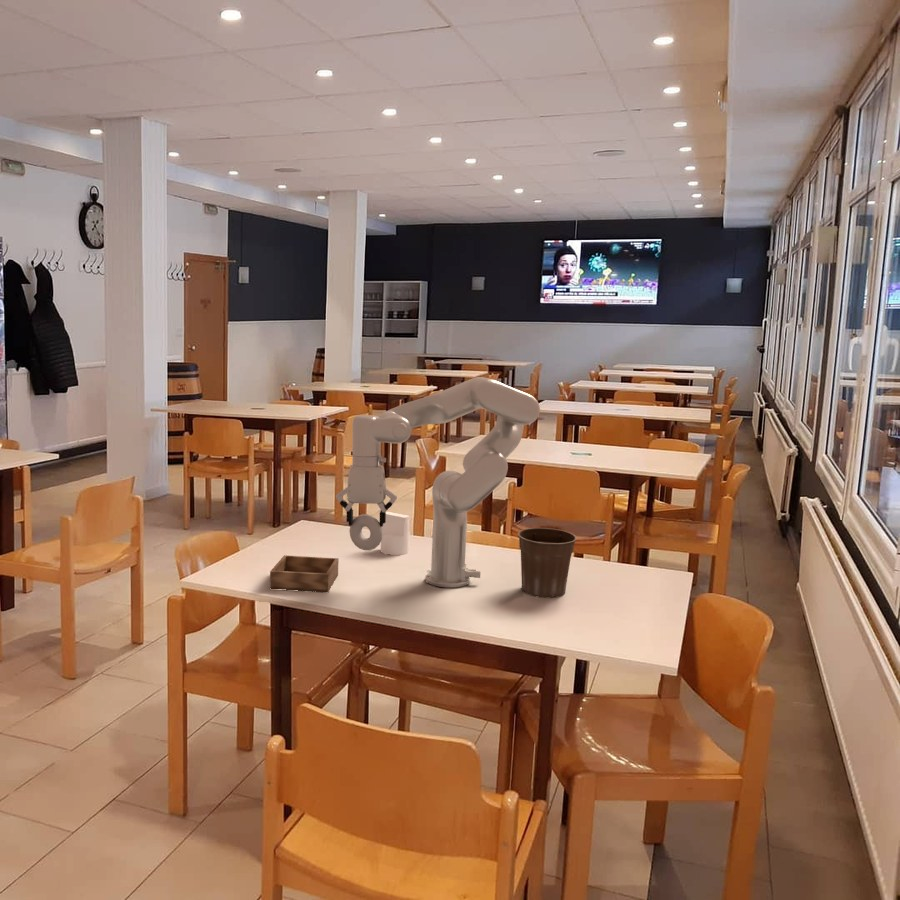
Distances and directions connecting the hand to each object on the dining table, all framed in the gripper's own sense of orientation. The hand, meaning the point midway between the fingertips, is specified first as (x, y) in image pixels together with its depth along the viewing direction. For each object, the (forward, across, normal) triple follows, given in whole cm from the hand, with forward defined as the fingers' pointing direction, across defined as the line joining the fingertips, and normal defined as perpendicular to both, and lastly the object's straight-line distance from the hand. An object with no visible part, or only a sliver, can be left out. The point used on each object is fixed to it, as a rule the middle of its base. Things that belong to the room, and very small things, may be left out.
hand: (366, 524), depth 225 cm
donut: (+7, 0, 0) cm, 7 cm away
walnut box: (+17, +17, -1) cm, 24 cm away
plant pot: (+19, -49, -5) cm, 53 cm away
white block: (+18, -4, -37) cm, 41 cm away
